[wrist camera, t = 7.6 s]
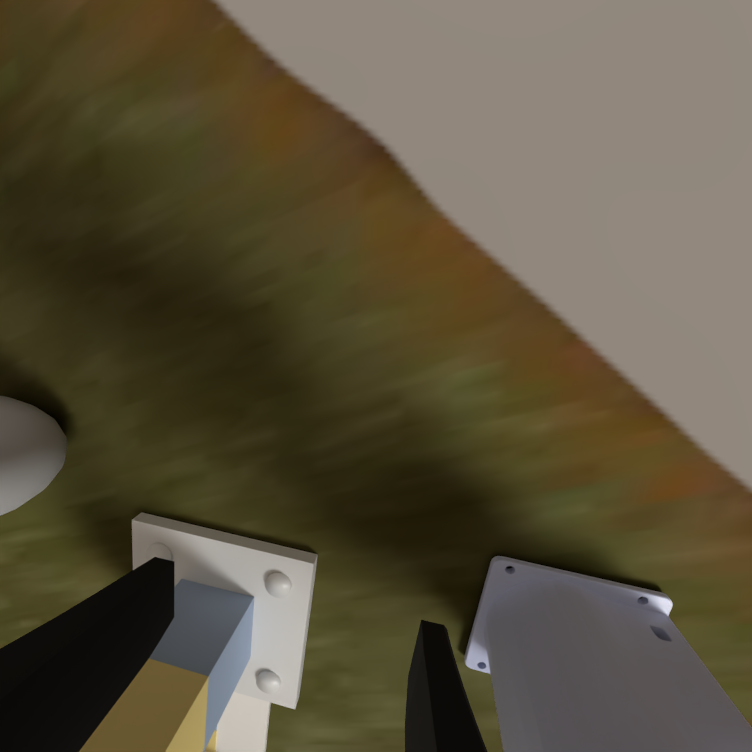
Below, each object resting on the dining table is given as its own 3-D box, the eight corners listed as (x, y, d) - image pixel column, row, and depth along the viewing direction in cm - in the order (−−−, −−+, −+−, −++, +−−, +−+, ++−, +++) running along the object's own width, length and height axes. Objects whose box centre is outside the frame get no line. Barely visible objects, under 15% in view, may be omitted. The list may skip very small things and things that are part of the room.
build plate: (317, 554, 22) (312, 567, 21) (299, 696, 25) (293, 714, 24) (141, 512, 23) (127, 522, 22) (143, 652, 26) (131, 667, 25)
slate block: (254, 596, 22) (205, 680, 17) (250, 657, 23) (204, 751, 19) (181, 578, 23) (115, 654, 18) (181, 638, 24) (119, 725, 19)
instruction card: (272, 689, 25) (269, 695, 25) (264, 766, 27) (261, 773, 27) (143, 652, 26) (139, 657, 26) (144, 729, 28) (140, 735, 28)
